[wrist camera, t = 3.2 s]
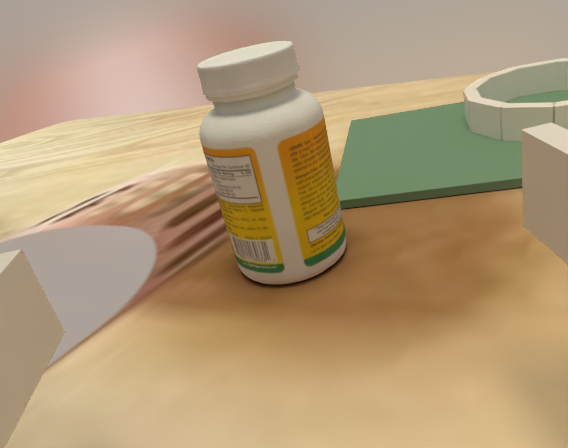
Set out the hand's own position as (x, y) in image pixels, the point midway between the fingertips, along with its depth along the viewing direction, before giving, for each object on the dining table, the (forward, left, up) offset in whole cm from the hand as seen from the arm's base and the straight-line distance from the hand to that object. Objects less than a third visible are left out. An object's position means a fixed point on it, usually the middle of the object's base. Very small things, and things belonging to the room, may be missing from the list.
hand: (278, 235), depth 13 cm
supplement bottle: (-3, +9, -6) cm, 11 cm away
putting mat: (+8, +21, -6) cm, 23 cm away
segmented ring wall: (+12, +23, -6) cm, 27 cm away
